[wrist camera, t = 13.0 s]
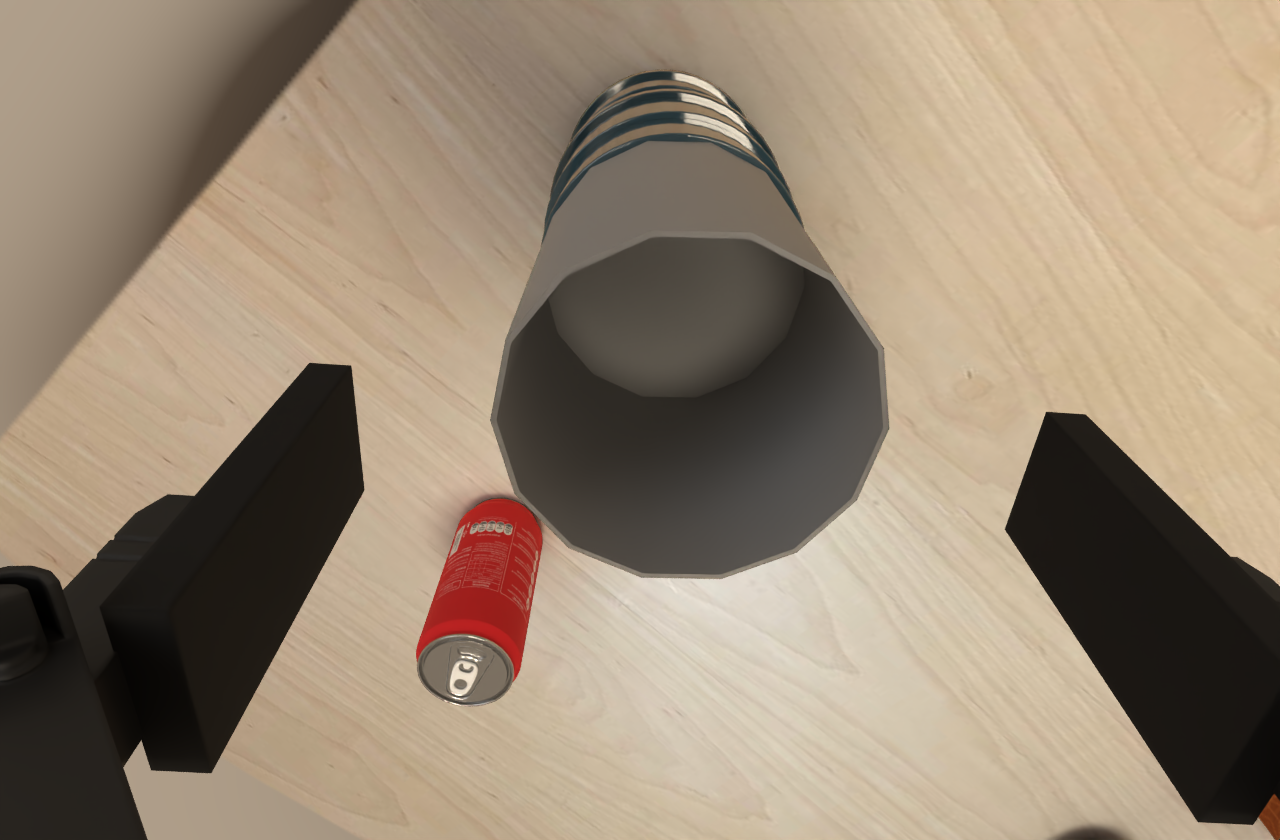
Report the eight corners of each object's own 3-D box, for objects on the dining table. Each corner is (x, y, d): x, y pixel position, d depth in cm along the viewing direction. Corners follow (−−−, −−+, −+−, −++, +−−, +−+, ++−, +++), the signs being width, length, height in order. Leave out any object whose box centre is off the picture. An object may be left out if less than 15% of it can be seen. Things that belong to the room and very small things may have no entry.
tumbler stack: (570, 61, 38) (527, 106, 24) (770, 77, 38) (847, 131, 24) (564, 258, 42) (525, 395, 28) (744, 271, 42) (795, 413, 28)
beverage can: (554, 506, 49) (531, 648, 39) (531, 570, 52) (502, 720, 41) (471, 482, 49) (424, 620, 38) (451, 548, 51) (401, 695, 40)
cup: (821, 145, 24) (925, 236, 15) (791, 394, 28) (860, 581, 19) (536, 138, 24) (476, 226, 15) (545, 388, 28) (501, 574, 19)
